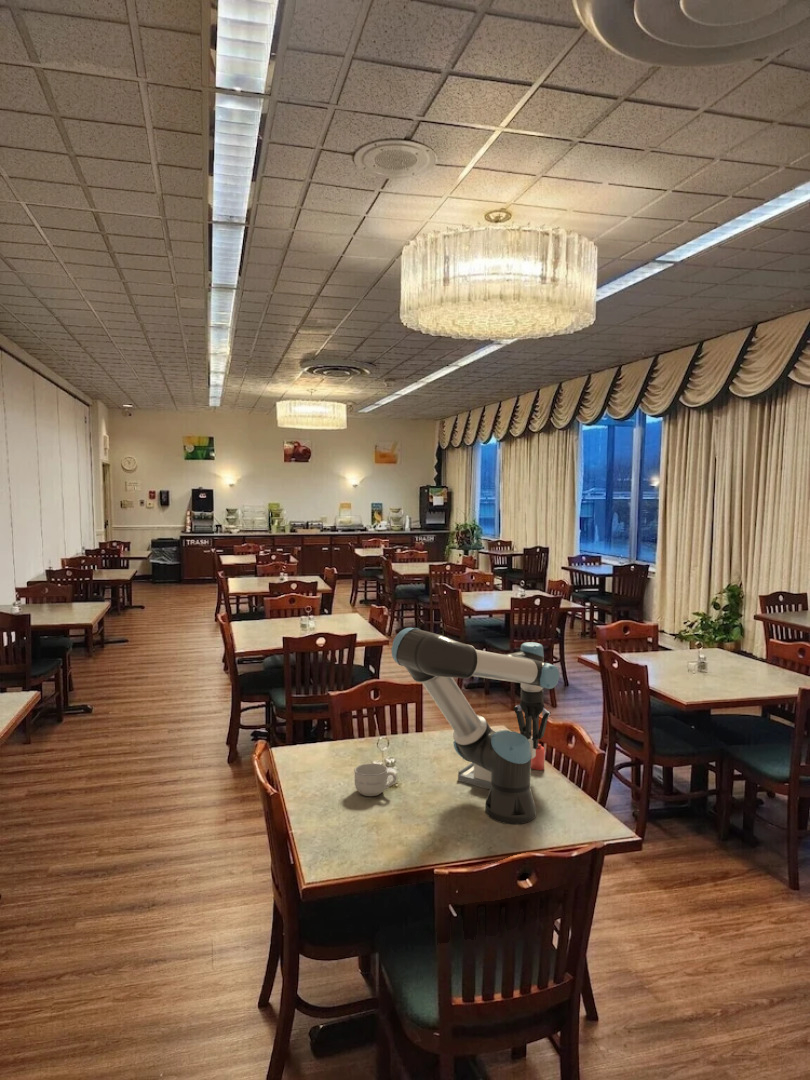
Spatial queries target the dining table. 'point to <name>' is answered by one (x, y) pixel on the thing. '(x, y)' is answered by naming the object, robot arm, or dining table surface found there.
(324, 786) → the dining table surface
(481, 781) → the panel
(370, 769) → the teacup
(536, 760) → the red cylinder with knob
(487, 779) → the cream square open box
